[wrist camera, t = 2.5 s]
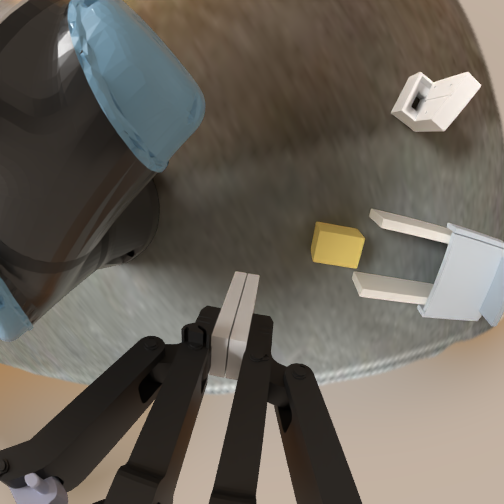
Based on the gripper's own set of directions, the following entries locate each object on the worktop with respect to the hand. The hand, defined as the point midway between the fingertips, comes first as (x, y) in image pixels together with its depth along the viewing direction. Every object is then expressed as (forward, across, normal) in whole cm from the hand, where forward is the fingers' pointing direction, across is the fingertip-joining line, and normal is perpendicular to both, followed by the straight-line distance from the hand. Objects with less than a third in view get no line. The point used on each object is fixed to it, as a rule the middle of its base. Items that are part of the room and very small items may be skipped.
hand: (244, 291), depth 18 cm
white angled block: (+15, +15, +18) cm, 28 cm away
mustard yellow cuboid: (+15, +8, 0) cm, 17 cm away
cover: (+11, +27, 0) cm, 29 cm away
